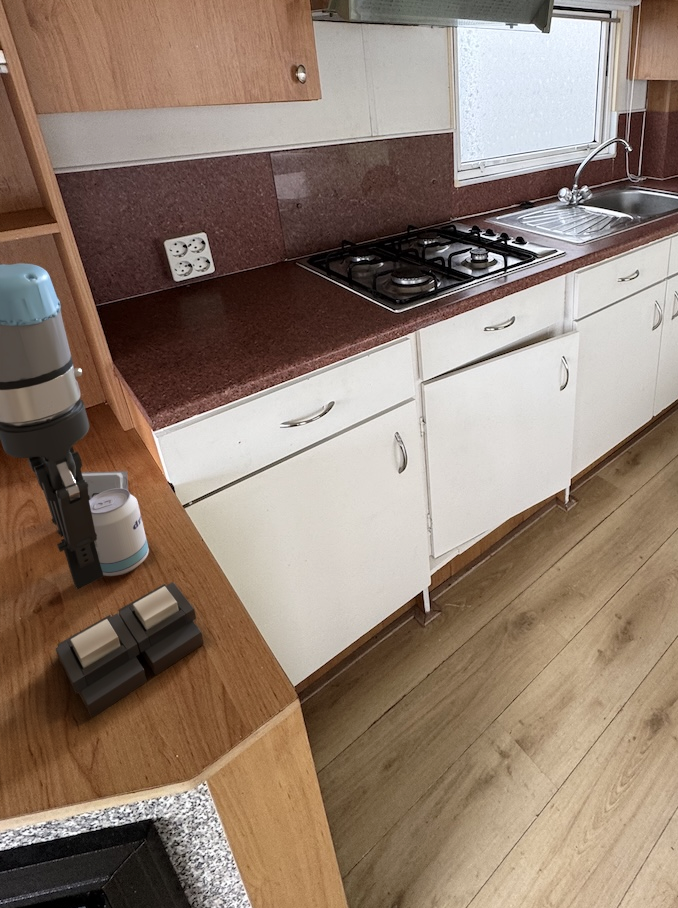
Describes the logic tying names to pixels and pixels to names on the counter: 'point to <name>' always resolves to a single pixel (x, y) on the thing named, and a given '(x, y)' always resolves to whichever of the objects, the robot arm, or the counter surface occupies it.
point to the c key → (95, 643)
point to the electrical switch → (105, 481)
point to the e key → (155, 607)
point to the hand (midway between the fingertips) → (88, 579)
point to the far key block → (165, 632)
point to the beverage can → (118, 531)
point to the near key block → (104, 670)
